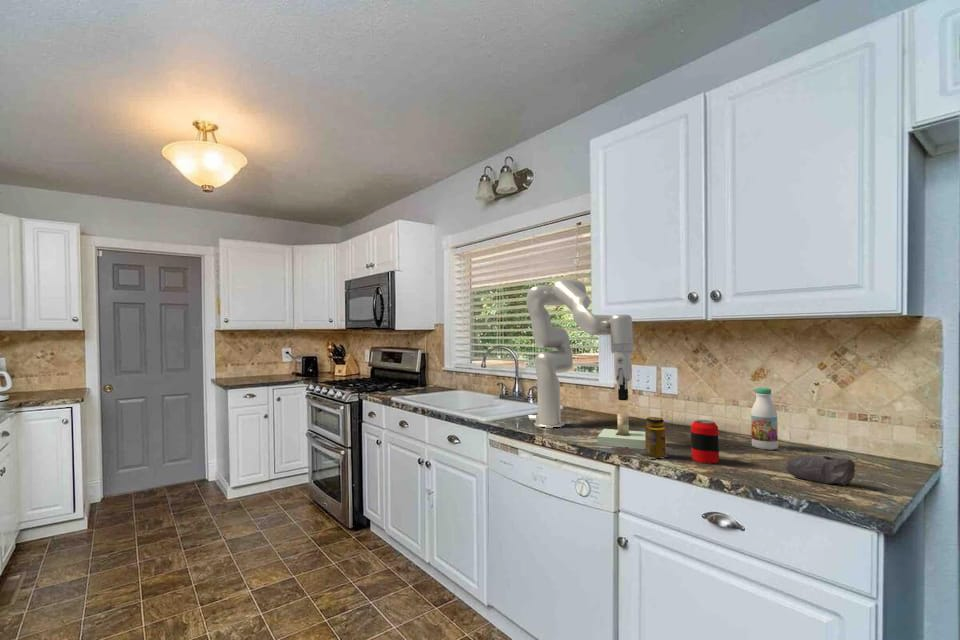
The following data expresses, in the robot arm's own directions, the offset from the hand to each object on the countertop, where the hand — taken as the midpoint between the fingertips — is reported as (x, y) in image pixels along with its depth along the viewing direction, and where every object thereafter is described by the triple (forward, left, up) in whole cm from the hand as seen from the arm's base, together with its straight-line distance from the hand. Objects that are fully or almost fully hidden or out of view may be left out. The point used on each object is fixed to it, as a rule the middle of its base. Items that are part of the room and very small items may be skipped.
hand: (623, 399), depth 169 cm
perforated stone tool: (+53, -26, -16) cm, 61 cm away
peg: (0, 0, -15) cm, 15 cm away
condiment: (+11, -15, -16) cm, 24 cm away
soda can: (+26, -15, -16) cm, 34 cm away
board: (0, 0, -15) cm, 15 cm away
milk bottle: (+45, +10, -16) cm, 48 cm away
